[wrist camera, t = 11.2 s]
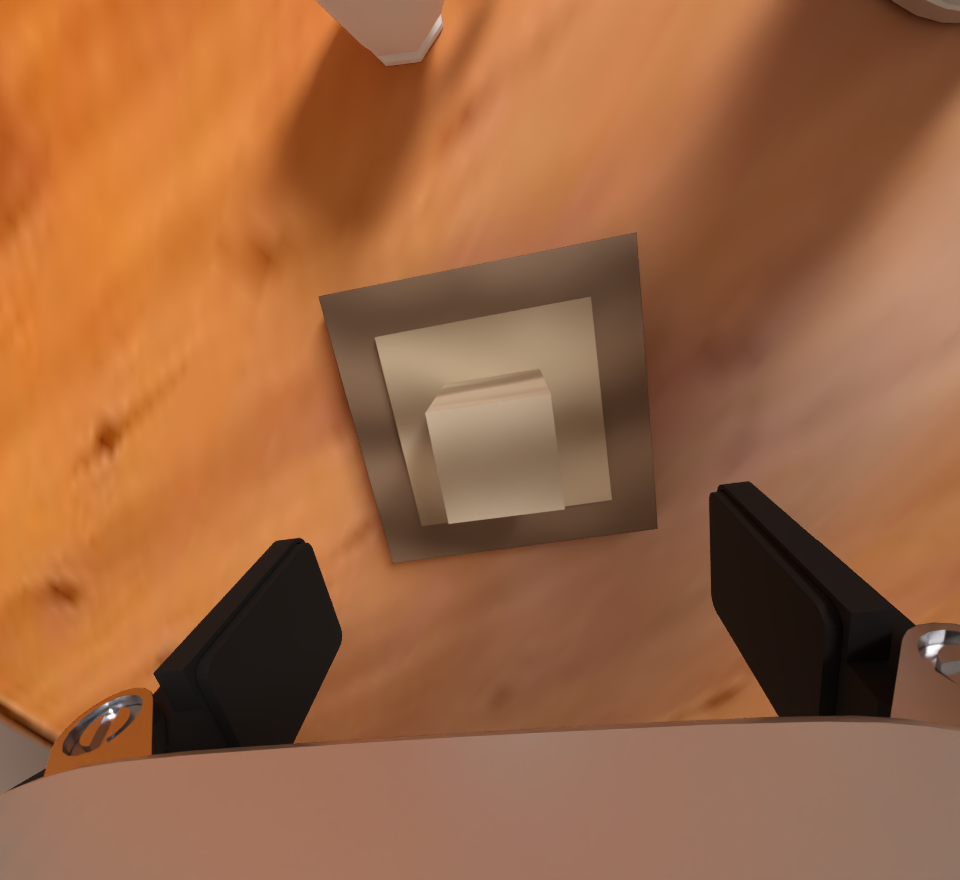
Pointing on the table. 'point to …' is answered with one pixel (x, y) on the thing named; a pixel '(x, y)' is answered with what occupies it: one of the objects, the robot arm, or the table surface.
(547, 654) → the table surface
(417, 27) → the cup
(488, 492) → the oak block
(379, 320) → the base
